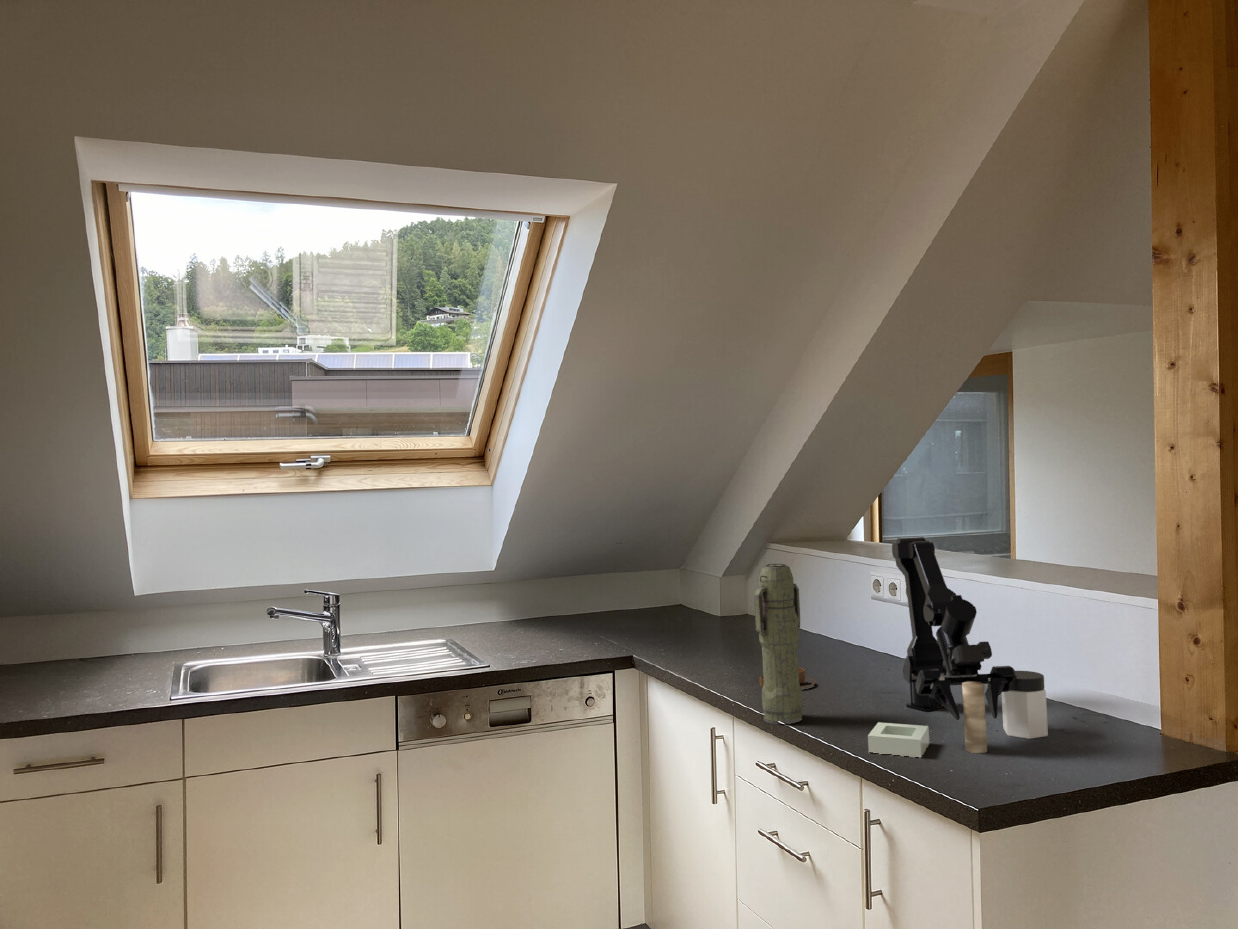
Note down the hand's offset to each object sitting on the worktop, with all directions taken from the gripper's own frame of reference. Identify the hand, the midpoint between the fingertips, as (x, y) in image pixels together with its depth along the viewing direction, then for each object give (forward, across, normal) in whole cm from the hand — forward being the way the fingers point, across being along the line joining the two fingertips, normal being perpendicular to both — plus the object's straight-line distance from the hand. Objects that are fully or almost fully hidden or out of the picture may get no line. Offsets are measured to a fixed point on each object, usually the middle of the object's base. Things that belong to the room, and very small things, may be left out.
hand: (977, 718), depth 185 cm
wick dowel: (+4, 0, +6) cm, 7 cm away
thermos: (-16, -34, +26) cm, 45 cm away
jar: (-3, +14, +13) cm, 19 cm away
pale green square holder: (+2, -14, +8) cm, 16 cm away
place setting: (-37, -30, +47) cm, 67 cm away
